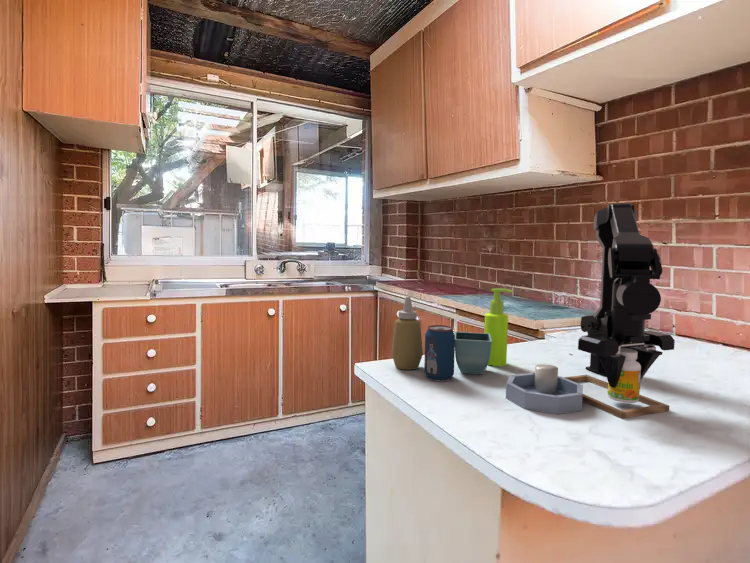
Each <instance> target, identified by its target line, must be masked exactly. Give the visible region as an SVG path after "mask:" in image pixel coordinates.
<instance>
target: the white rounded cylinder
mask: <svg viewBox="0 0 750 563" xmlns="http://www.w3.org/2000/svg"><path fill="white" fill-rule="evenodd" d="M534 371H535V372H534V373H535V388H534V389H535V391H537V392H540V393H544V394H555V393H557V380H558V376H559V367H557V366H555V365H553V364H546V363H545V364H544V363H543V364H542V363H540V364H538V363H537V364H535V370H534Z"/></svg>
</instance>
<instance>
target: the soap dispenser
mask: <svg viewBox="0 0 750 563" xmlns="http://www.w3.org/2000/svg"><path fill="white" fill-rule="evenodd" d="M490 292H493V299H491V300H490V301H489V312H487V313H485V314H484V330H483V333H487V334H490V336H491V339H492V345H491V352H490V359H489V362H488V365H487V366H489V365H493V366H492V367H495V366H501V367H505V366H507V359H508V358H507V357H508V356H507V354H508V330H509V328H508V326H509V315H508V314H506V313H504V301H503V300H502V299H501V293H503V292H504V293H509V294H512V293H513V292H514V290H512V289H508V288H503V287H502V288H498V287H497V288H491V290H490ZM504 365H505V366H504Z"/></svg>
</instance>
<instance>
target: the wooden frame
mask: <svg viewBox="0 0 750 563" xmlns="http://www.w3.org/2000/svg"><path fill="white" fill-rule="evenodd" d="M563 377H564V378H566V379H569V380H571V381H574V382H576V383H578V382H585V381H587V382H589V383H592V384H594V385H597V386H600V387H602V388H604V389H607V390H608V381H604V380H602V379H599V378H597V377H594V376H591V375H588V374H582V375H572V376H563ZM582 402H583V403H587V404H588V405H591V406H593V407H595V408H598V409H599V410H602V411H604V412H606V413H609V414H610V415H612V416H615V417H617V418H619V419H626V418H632V417H639V416H644V415H645V416H646V415H650V414H657V413H663V412H669V411H670V405H669V404H666V403H664V402H662V401H661V402H660V401H659V400H655V399H653V398H649V397H647V396H645V395H642V394H640V393H639V401H638V402H641V403H642V404H645V405H648V406H641V407H640V406H639V407H633V408H628V409H618V408H616V407H614V406H612V405H609V404H607V403H605V402H602V401H601V400H598V399H596V398H593V397H591V396H590V395H589V396H588V395H586V394H584V393H583V398H582Z"/></svg>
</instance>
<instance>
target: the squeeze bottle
mask: <svg viewBox="0 0 750 563" xmlns="http://www.w3.org/2000/svg"><path fill="white" fill-rule="evenodd" d="M417 318H418V312H417V311H416V310H413V304H412V299H411V296H405V299H404V304H403V308H402V310H399V311H398V319H396V320H395V321H394V326H393V336H392V345H391V346H392V347H391V357H392V360H393V362H394V366H395V368H397V369H399V370H407V371H409V370H410V371H411V370H416V369H418V368H419V366H420V363H421V360H422V358H423V354H424V352H423V338H422V328H421V327H422V326H421V321H420V320H419V319H417Z"/></svg>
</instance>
